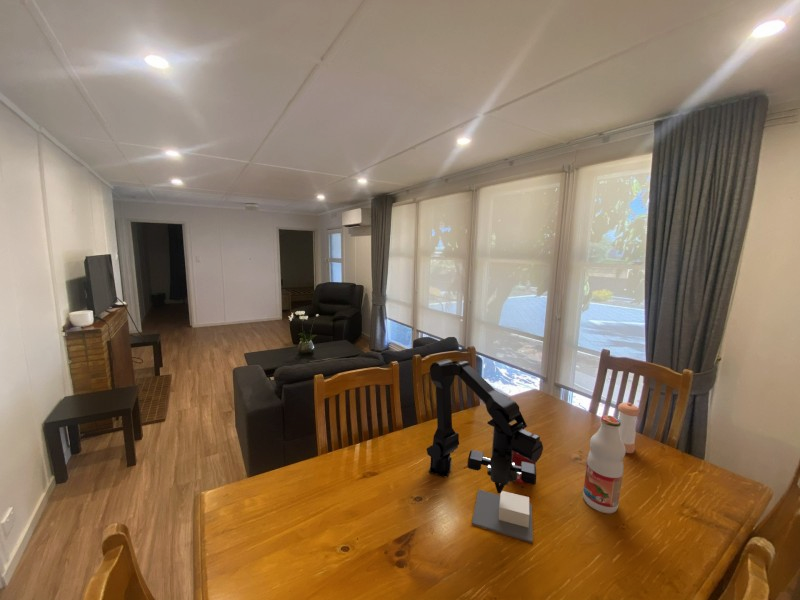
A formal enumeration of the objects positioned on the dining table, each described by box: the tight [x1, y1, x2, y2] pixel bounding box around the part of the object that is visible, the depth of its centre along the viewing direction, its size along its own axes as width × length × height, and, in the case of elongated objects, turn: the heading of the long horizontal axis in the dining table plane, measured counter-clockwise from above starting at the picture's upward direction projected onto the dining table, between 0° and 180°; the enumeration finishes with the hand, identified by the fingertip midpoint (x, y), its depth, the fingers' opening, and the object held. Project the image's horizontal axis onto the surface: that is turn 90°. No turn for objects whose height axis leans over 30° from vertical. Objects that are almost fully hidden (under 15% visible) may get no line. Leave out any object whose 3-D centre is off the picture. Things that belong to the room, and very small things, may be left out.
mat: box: [471, 489, 534, 544], centre depth 97 cm, size 16×14×1 cm
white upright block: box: [499, 490, 530, 528], centre depth 96 cm, size 4×7×8 cm
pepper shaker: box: [617, 402, 641, 454], centre depth 130 cm, size 7×7×19 cm
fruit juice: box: [582, 414, 626, 514], centre depth 101 cm, size 9×9×28 cm
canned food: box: [512, 451, 537, 485], centre depth 113 cm, size 8×8×11 cm
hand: (499, 492), depth 97 cm, fingers closed
